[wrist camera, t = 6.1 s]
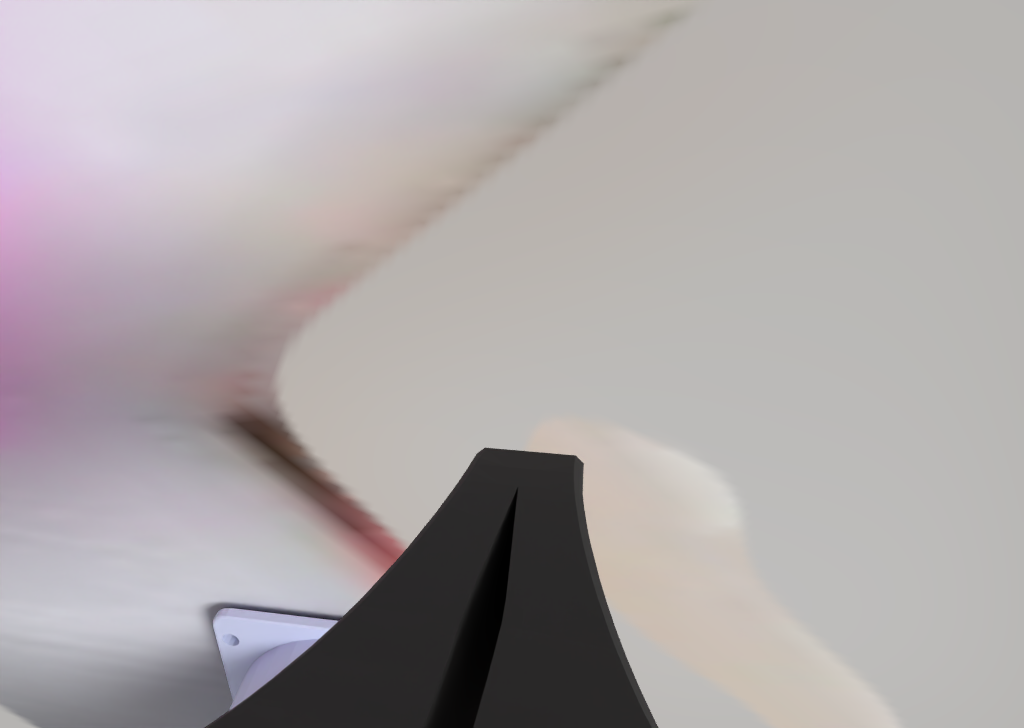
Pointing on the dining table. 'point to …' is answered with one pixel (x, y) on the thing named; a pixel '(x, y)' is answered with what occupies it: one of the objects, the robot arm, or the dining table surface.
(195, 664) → the dining table surface
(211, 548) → the dining table surface
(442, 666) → the robot arm
